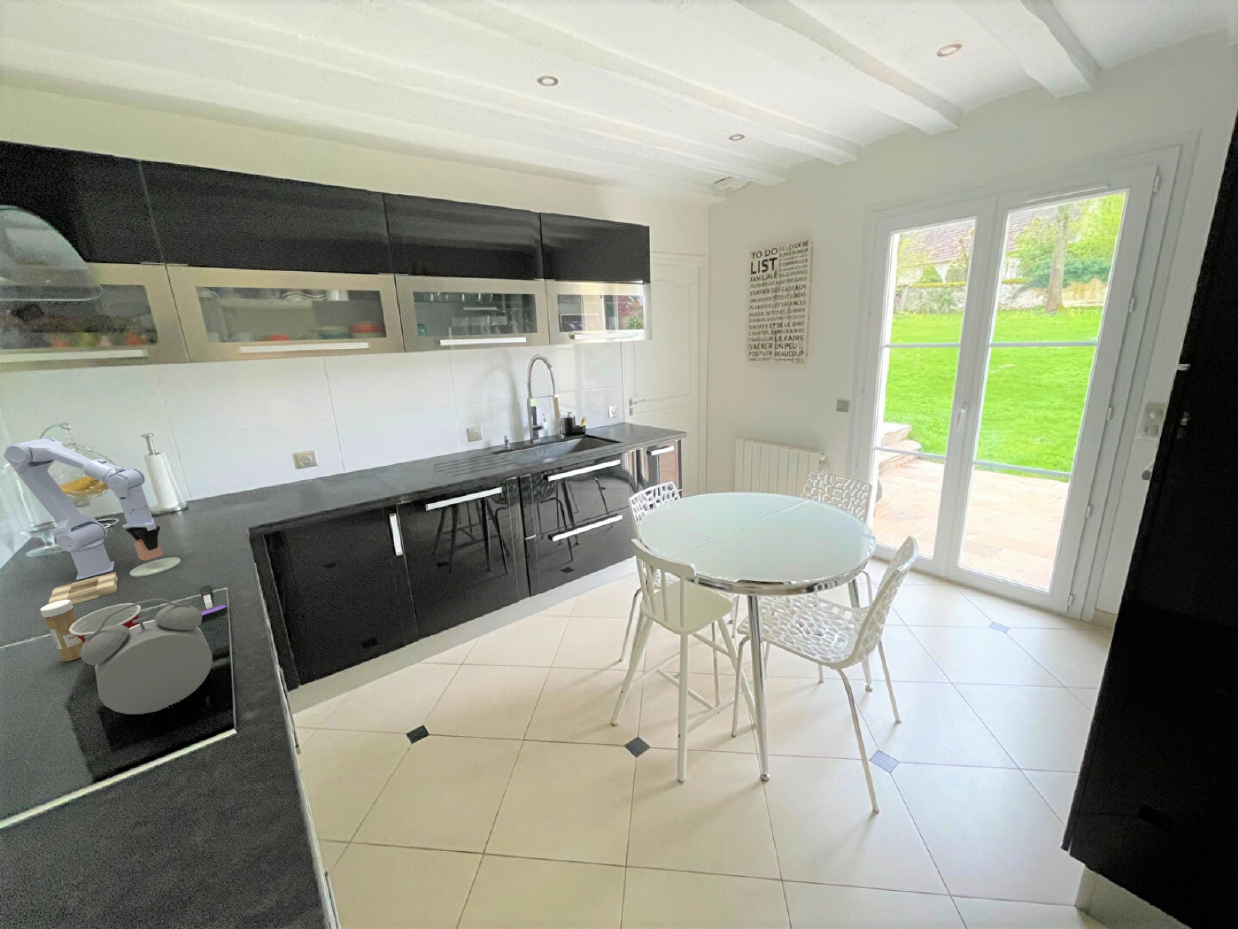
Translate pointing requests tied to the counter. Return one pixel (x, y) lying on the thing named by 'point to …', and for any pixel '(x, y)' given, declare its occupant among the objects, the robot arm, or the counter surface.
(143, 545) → the terracotta block
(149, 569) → the sage coaster
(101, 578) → the maple pocket holder
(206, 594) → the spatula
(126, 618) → the plastic cup
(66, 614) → the sprinkles bottle
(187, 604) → the alarm clock
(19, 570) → the counter surface
